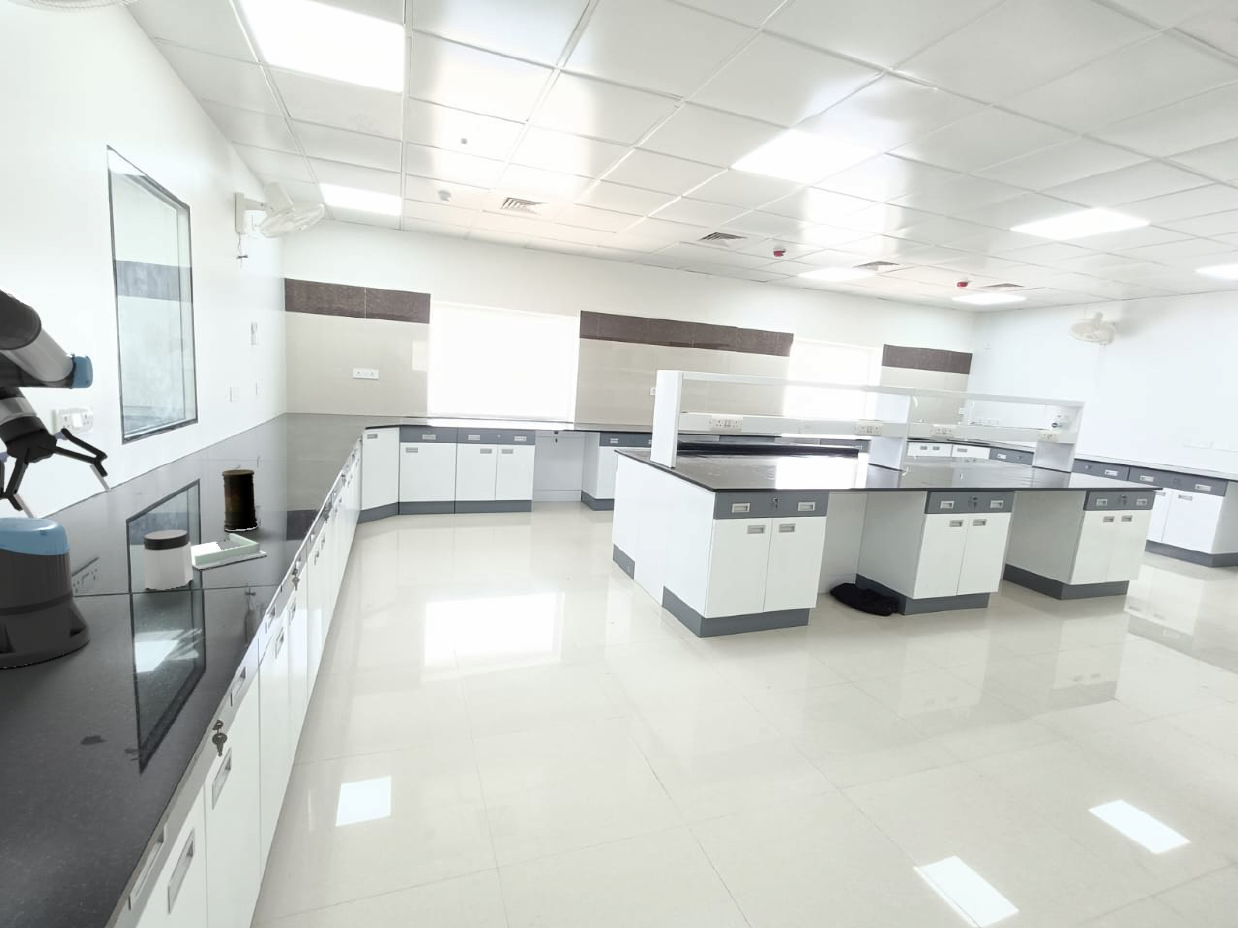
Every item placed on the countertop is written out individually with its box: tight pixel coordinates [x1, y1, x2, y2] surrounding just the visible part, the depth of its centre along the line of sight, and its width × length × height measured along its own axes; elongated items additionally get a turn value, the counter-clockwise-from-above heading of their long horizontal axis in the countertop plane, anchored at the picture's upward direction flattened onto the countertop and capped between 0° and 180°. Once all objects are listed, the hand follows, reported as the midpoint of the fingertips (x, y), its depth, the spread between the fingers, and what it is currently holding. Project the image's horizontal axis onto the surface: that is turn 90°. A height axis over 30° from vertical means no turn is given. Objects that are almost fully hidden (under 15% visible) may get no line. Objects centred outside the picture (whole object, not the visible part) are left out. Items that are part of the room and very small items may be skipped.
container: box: [221, 468, 259, 530], centre depth 182 cm, size 9×9×18 cm
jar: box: [142, 529, 194, 591], centre depth 136 cm, size 9×8×12 cm
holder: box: [191, 532, 268, 569], centre depth 159 cm, size 20×16×3 cm
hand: (73, 505), depth 132 cm, fingers open, 13 cm apart
